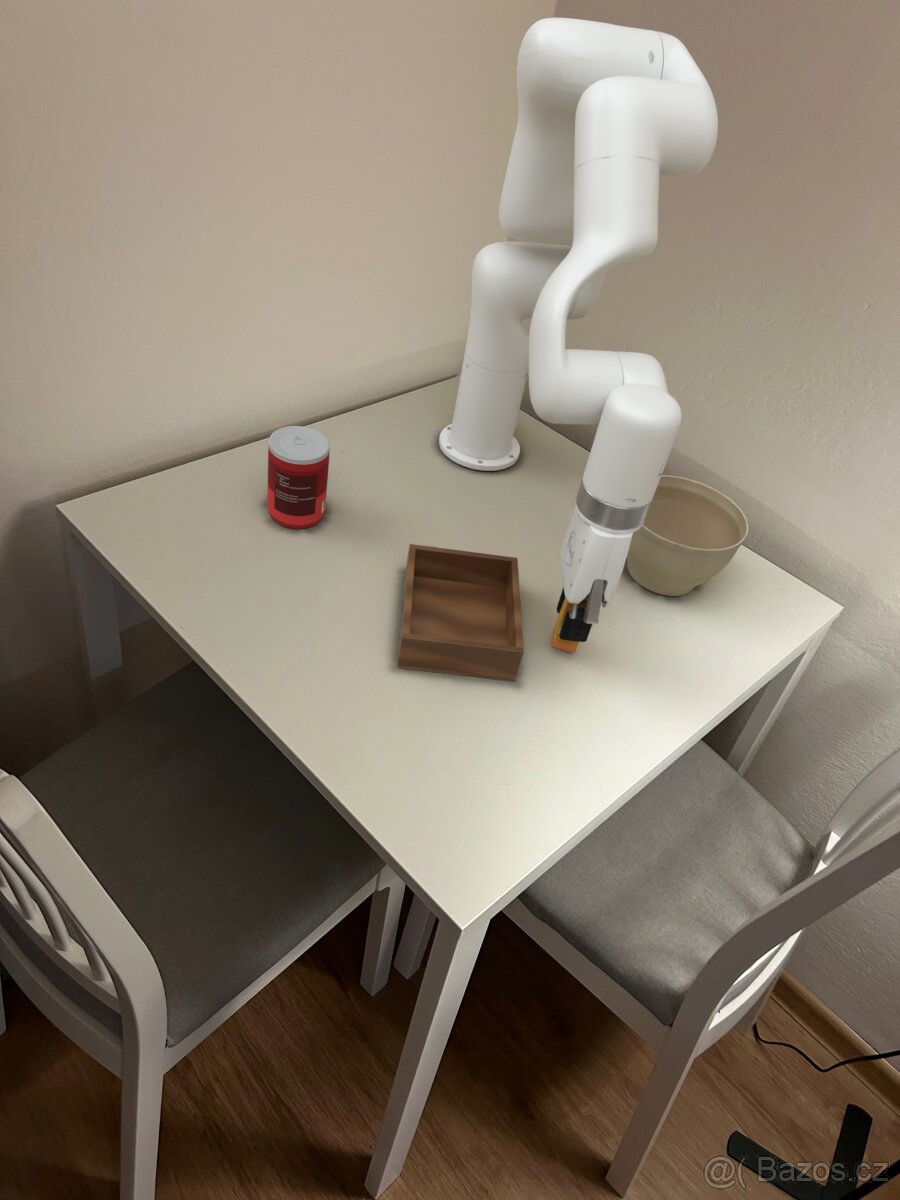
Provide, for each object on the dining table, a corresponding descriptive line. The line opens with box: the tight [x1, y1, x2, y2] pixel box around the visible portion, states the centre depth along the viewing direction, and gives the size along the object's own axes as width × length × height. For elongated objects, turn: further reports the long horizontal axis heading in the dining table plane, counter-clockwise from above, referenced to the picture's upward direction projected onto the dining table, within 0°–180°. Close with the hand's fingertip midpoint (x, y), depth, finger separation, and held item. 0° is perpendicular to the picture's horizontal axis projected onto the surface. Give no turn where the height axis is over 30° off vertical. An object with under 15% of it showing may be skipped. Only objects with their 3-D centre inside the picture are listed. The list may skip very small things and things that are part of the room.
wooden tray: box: [396, 543, 524, 682], centre depth 107 cm, size 17×14×5 cm
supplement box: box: [550, 597, 587, 653], centre depth 104 cm, size 3×3×10 cm
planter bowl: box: [626, 474, 750, 597], centre depth 119 cm, size 16×16×11 cm
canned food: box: [266, 425, 331, 530], centre depth 116 cm, size 8×8×11 cm
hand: (570, 625), depth 106 cm, fingers closed on supplement box, 3 cm apart
